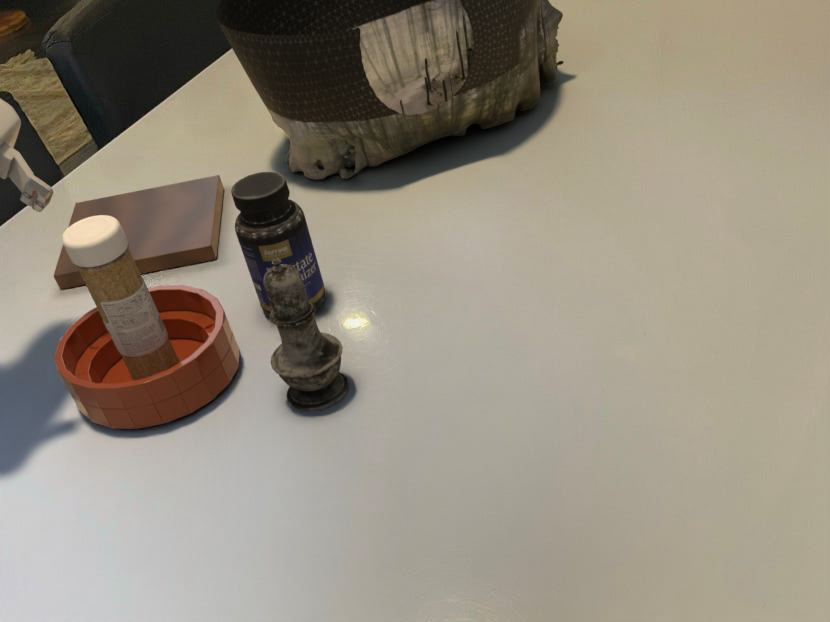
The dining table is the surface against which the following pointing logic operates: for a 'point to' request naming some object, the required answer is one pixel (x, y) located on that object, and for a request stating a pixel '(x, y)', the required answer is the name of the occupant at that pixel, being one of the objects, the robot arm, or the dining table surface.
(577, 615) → the dining table surface
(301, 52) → the basket
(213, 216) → the board
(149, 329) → the sprinkles bottle
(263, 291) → the pill bottle
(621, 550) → the dining table surface
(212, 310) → the bowl
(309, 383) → the grey stone chess piece
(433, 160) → the dining table surface
